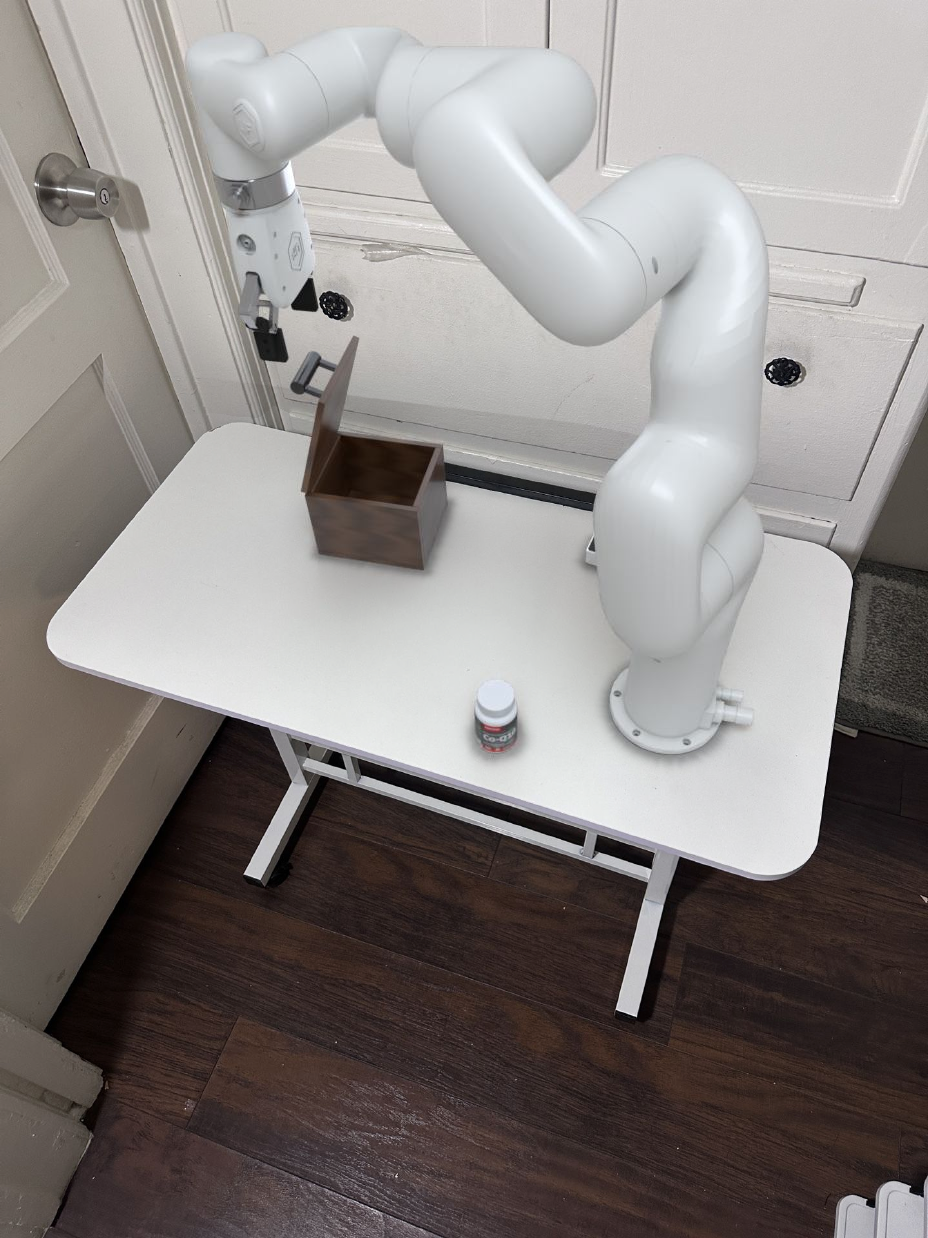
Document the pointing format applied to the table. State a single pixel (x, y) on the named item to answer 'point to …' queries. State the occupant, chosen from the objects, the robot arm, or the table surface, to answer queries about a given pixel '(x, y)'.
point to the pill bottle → (496, 716)
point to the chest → (378, 499)
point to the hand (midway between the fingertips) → (290, 334)
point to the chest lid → (324, 404)
